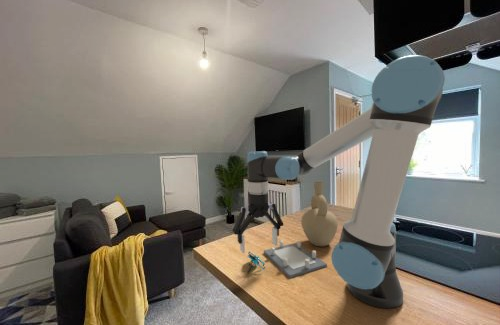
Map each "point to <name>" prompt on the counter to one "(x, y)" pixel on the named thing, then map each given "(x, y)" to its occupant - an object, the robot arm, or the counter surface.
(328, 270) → the counter surface
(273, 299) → the counter surface
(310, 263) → the pin tray
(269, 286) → the counter surface
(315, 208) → the vase
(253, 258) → the stick construction toy
